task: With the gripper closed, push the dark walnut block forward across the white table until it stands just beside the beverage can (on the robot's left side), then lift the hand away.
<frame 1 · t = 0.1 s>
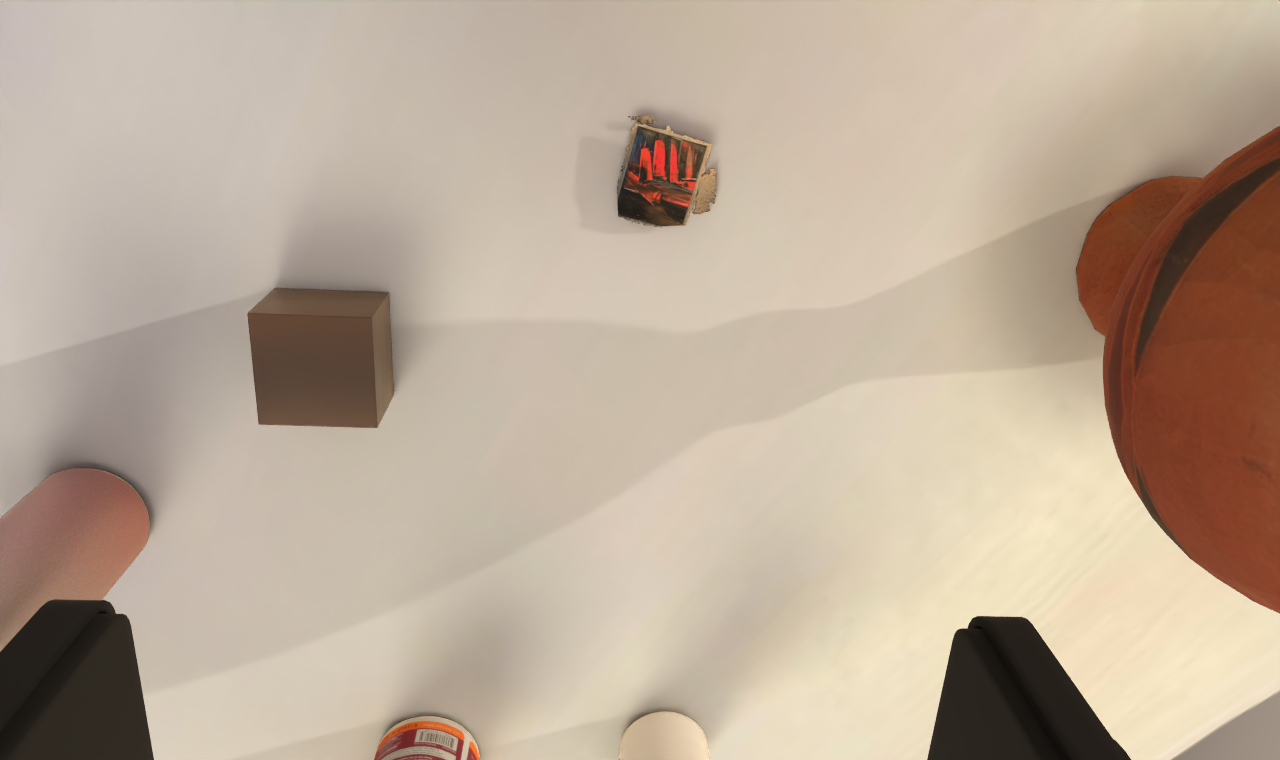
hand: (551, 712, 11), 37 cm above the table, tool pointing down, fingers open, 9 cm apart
pill bottle: (430, 749, 58), on the table
painted wall fragment: (666, 176, 45), on the table
beverage can: (99, 510, 51), on the table
goblet: (1155, 259, 48), on the table
drinking glass: (662, 739, 58), on the table
walnut block: (335, 343, 48), on the table
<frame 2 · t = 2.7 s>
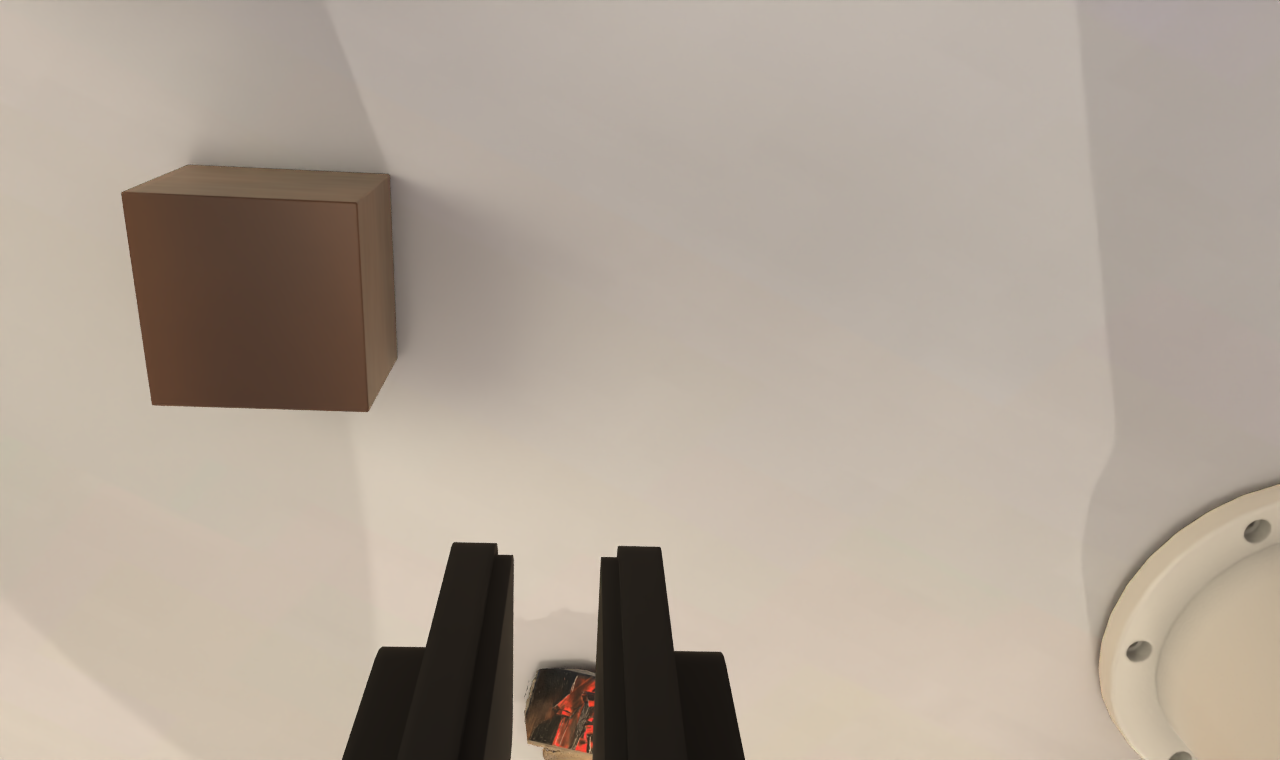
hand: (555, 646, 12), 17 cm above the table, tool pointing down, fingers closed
painted wall fragment: (590, 713, 34), on the table
walnut block: (296, 265, 27), on the table
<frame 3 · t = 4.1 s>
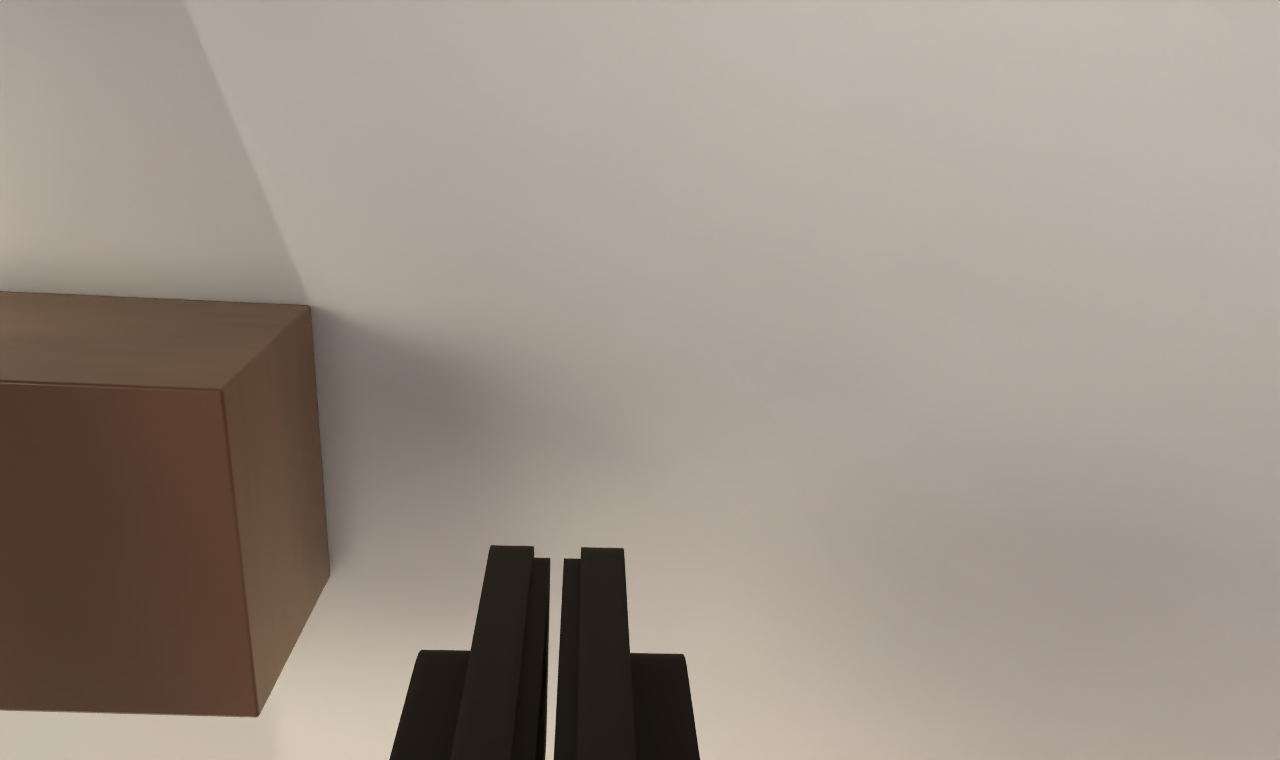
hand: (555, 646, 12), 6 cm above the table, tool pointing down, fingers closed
walnut block: (169, 442, 17), on the table
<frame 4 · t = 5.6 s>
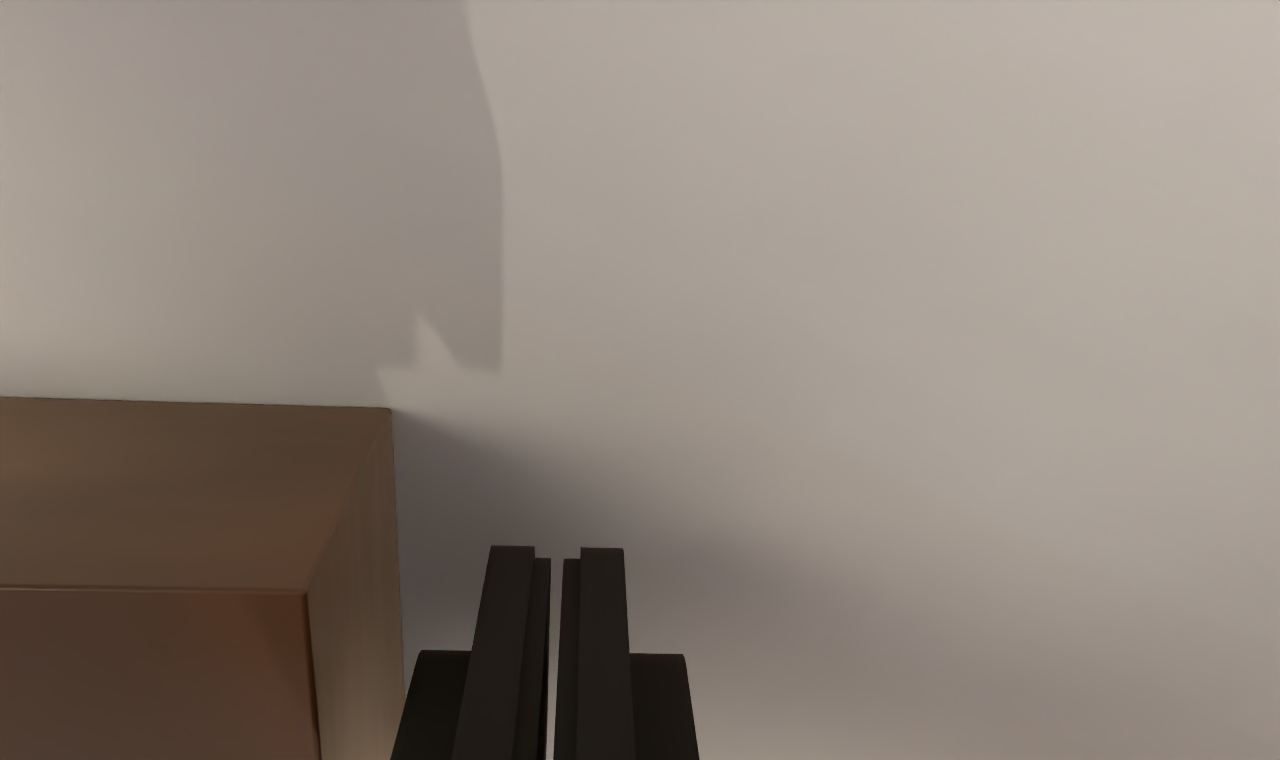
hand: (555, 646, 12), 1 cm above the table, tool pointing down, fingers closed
walnut block: (192, 588, 13), on the table, touching gripper
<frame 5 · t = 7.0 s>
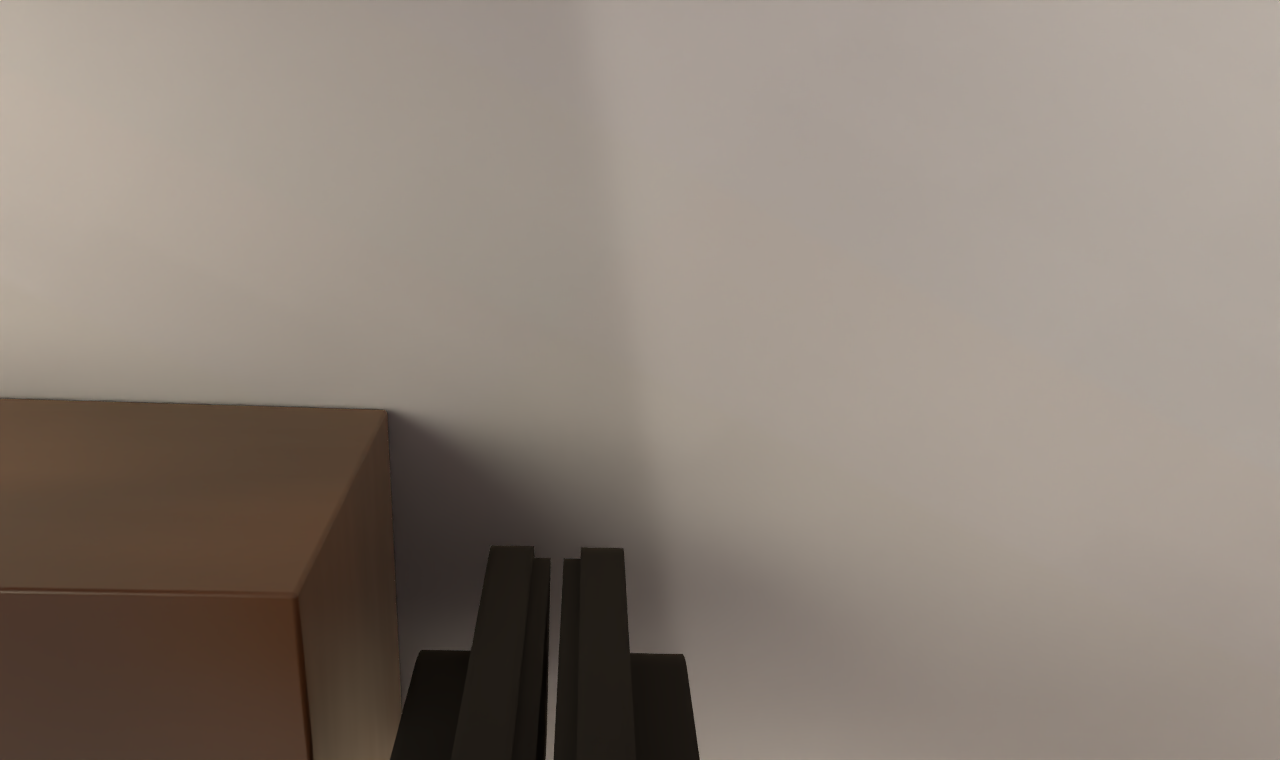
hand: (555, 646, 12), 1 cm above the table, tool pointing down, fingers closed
walnut block: (188, 590, 13), on the table, touching gripper
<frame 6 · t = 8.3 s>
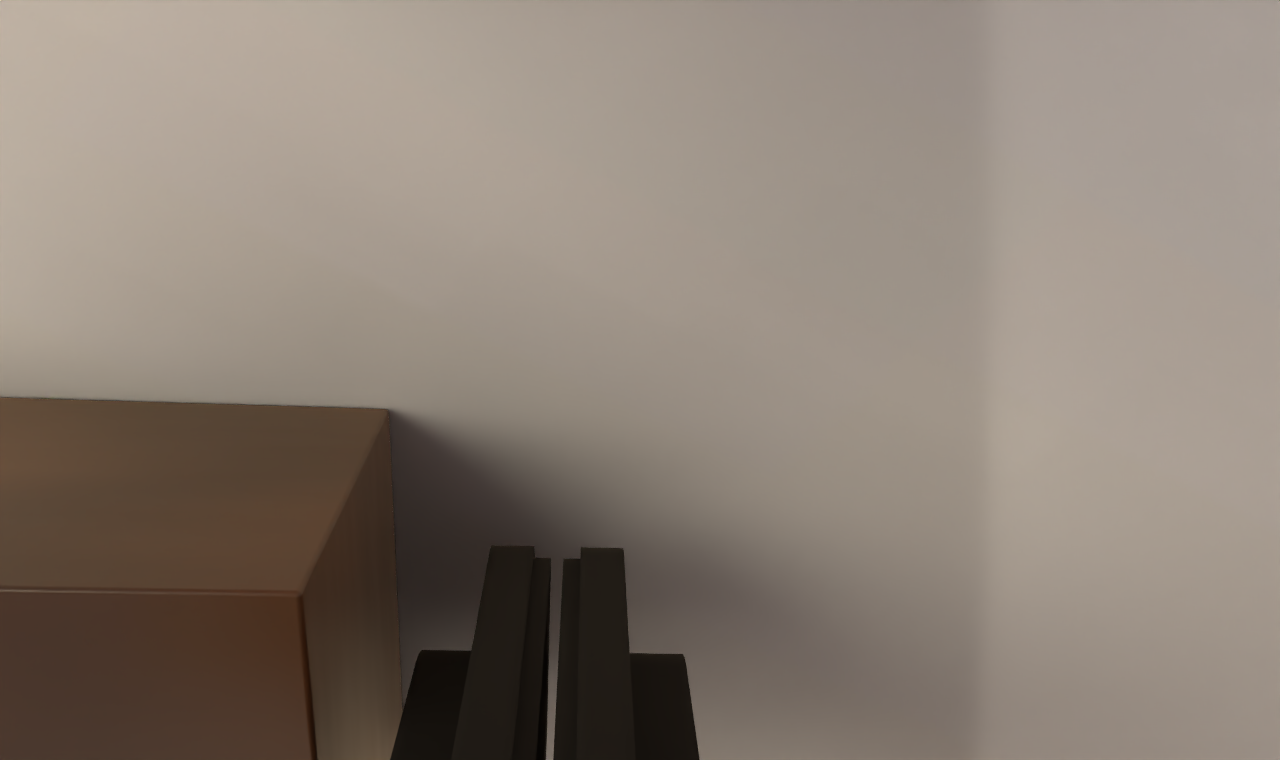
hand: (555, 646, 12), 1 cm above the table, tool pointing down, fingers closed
walnut block: (189, 589, 13), on the table, touching gripper
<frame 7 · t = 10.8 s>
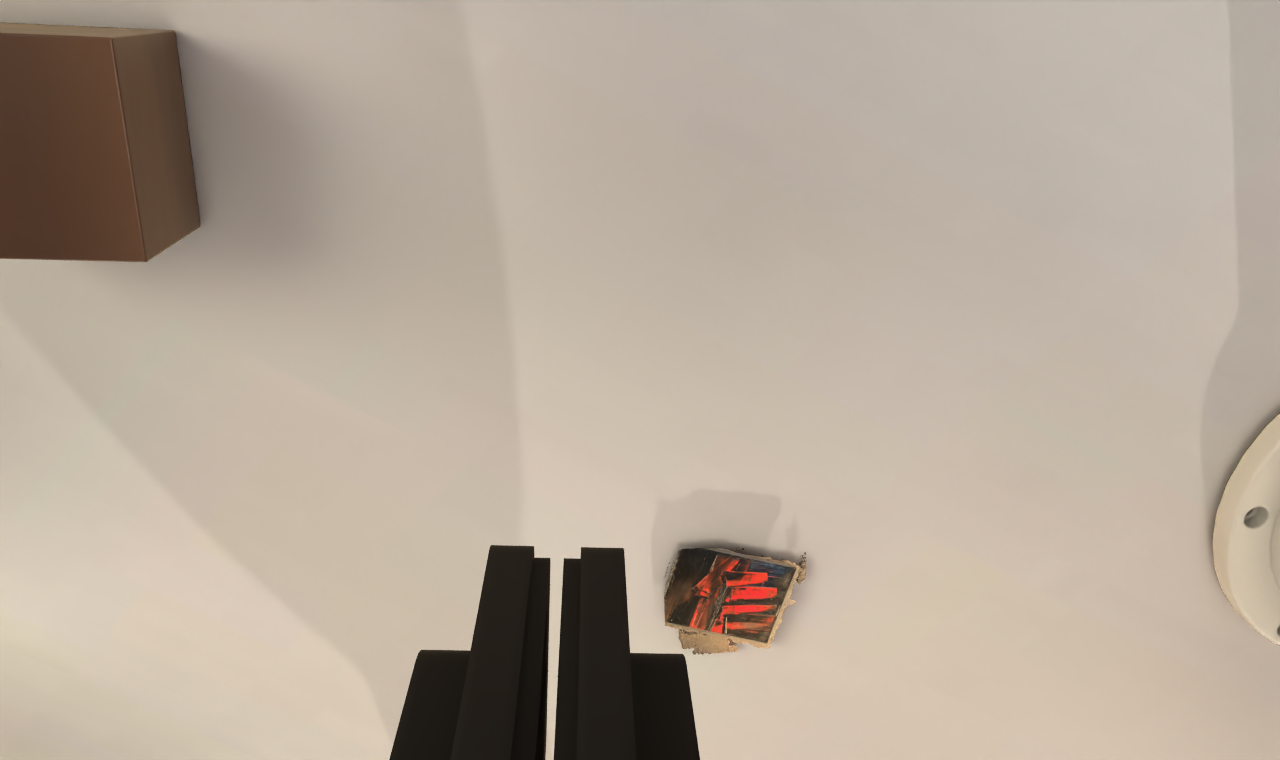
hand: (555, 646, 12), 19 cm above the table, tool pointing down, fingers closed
painted wall fragment: (725, 595, 35), on the table
walnut block: (88, 128, 27), on the table
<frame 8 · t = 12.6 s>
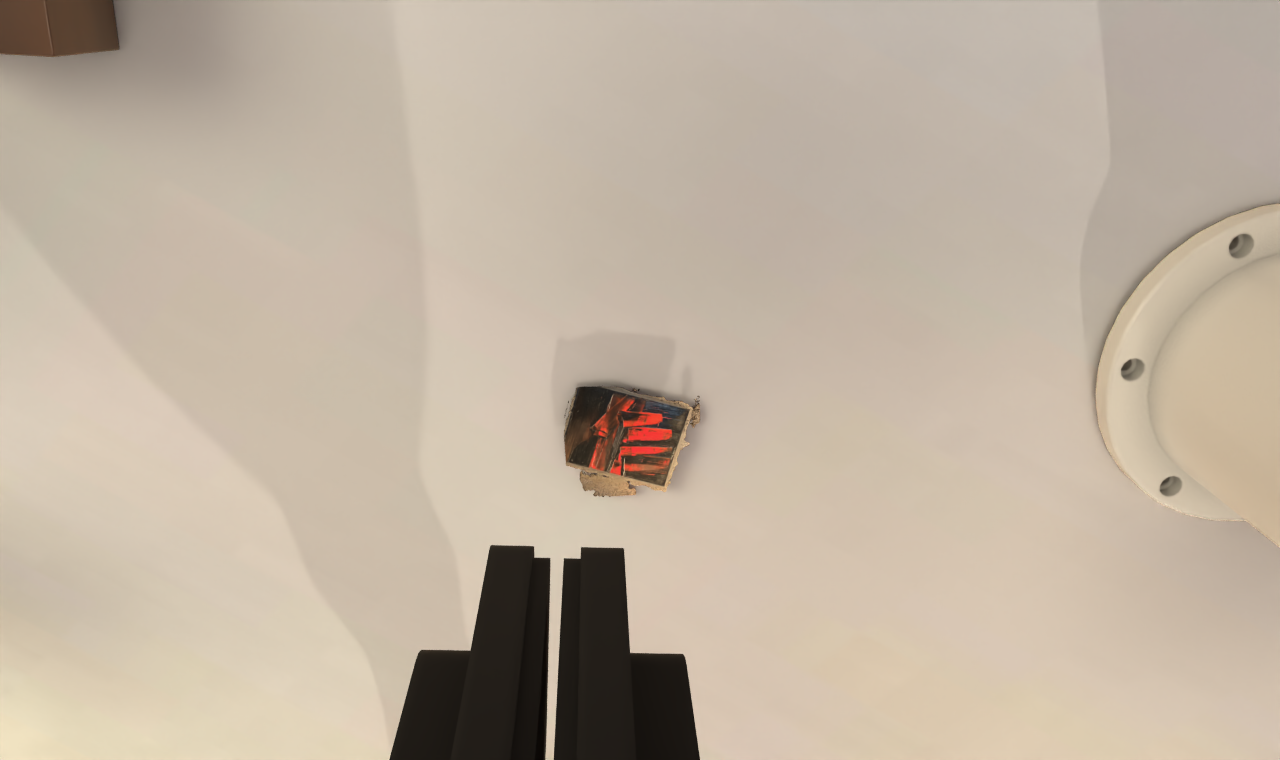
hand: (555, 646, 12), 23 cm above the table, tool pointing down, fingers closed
painted wall fragment: (624, 438, 37), on the table
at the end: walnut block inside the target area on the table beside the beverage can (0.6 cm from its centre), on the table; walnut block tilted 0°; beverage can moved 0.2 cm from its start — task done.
